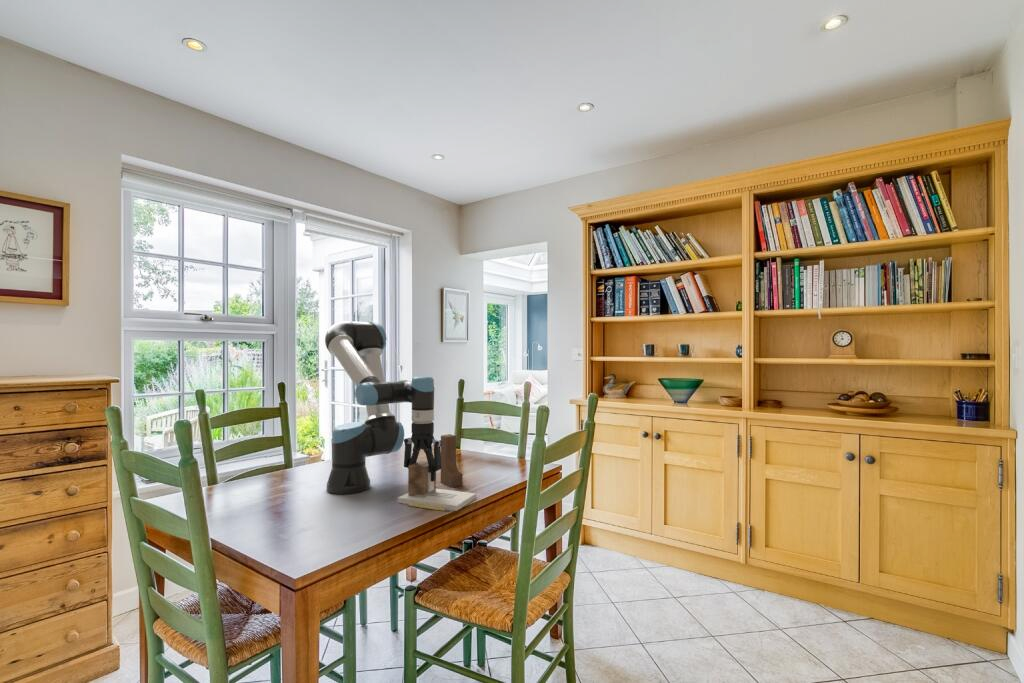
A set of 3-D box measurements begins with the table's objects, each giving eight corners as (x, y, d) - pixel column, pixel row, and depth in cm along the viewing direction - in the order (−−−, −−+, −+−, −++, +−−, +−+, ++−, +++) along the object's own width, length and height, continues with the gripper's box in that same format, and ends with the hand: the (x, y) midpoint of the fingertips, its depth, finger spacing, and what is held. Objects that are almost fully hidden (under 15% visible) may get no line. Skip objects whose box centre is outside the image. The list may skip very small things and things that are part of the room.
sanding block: (408, 495, 164) (408, 465, 164) (420, 489, 172) (421, 460, 172) (423, 497, 162) (423, 467, 162) (435, 491, 170) (436, 462, 170)
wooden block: (462, 485, 182) (463, 437, 182) (452, 487, 179) (452, 438, 179) (450, 480, 189) (450, 434, 189) (440, 482, 186) (440, 435, 187)
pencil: (408, 506, 158) (408, 503, 158) (409, 505, 159) (409, 503, 159) (448, 512, 153) (448, 509, 153) (449, 511, 154) (449, 508, 154)
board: (397, 502, 162) (397, 497, 162) (420, 491, 175) (420, 486, 175) (456, 510, 154) (456, 505, 154) (475, 498, 167) (475, 493, 167)
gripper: (392, 421, 167) (392, 489, 167) (441, 425, 160) (441, 495, 160) (405, 418, 174) (404, 483, 174) (452, 421, 167) (452, 489, 167)
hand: (422, 489), depth 167 cm, fingers closed on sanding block, 6 cm apart
